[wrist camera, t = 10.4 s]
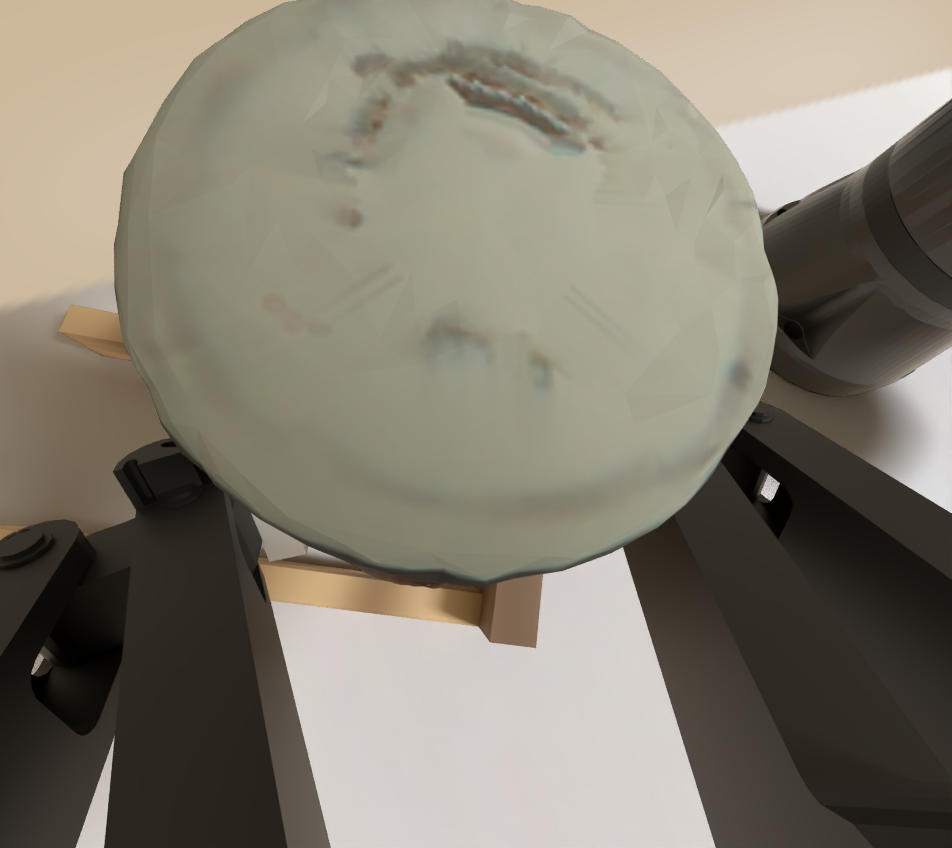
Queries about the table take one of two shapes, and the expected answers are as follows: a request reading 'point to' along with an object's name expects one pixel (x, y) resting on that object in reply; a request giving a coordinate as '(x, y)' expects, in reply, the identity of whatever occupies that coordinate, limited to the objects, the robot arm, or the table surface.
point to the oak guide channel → (490, 608)
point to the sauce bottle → (443, 285)
